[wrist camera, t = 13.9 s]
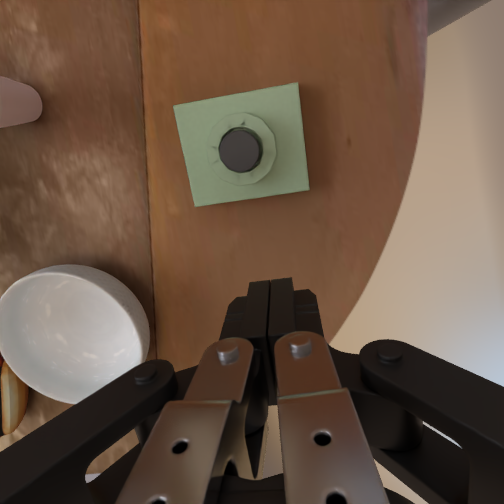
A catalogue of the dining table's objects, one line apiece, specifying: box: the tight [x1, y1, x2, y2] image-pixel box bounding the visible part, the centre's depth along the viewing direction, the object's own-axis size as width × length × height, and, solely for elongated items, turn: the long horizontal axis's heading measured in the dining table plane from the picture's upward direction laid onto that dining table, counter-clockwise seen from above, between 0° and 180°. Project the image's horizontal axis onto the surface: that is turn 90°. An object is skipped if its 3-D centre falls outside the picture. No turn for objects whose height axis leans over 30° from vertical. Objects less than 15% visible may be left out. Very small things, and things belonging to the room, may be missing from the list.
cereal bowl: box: [0, 264, 150, 404], centre depth 42 cm, size 17×17×7 cm
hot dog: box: [0, 352, 28, 437], centre depth 48 cm, size 5×13×5 cm, turn 167°
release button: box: [220, 130, 260, 172], centre depth 33 cm, size 4×4×2 cm
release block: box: [173, 83, 310, 207], centre depth 35 cm, size 12×10×4 cm
